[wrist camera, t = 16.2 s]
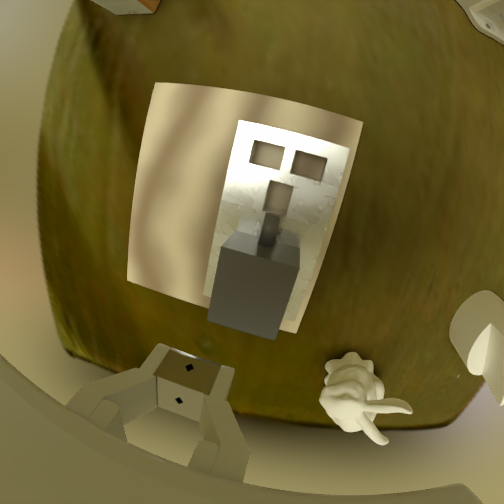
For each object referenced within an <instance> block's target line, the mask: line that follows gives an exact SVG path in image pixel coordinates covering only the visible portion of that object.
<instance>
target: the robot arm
mask: <svg viewBox="0 0 504 504" xmlns="http://www.w3.org/2000/svg"><path fill="white" fill-rule="evenodd" d="M456 1H457V2H458V3H459V4H460V5H461V6H462V8H463V9H464V10H465V12H466V14H467V15H468V17H469V19H470V21H471V22H472V24H473V25H474V26H475V28H476V29H477V30H479V31H480V32H482V33H483V34H485V35H487V36H489V37H491V38H493V39H494V40H496V41H498V42H500V43H501V44H503V45H504V0H456ZM234 372H235V368H231V367H228V366H225V365H221V364H218V363H215V362H211V361H208V360H205V359H202V358H199V357H195V356H193V355H190V354H187V353H185V352H182V351H179V350H177V349H174V348H171V347H169V346H166V345H164V344H161V343H159V344H158V345H156V347H155V348H154V350H153V351H152V352H151V354H150V355H149V356H148V358H147V359H146V360H145V362H144V363H143V364H142V366H141V367H140V369H138V368H133V369H130V370H127V371H125V372H122V373H119V374H116V375H112V376H109V377H106V378H103V379H100V380H97V381H94V382H90V383H87V384H84V385H83V386H82V387H81V388H80V389H79V391H78V392H77V393H76V394H75V395H74V396H73V398H72V399H71V400H70V401H69V402H68V403H67V405H66V406H64V405H62V404H61V403H59V402H58V401H56V400H55V399H54V398H52V397H51V396H50V395H48V394H47V393H45V392H44V391H43V390H42V389H40V388H39V387H38V386H36V385H35V384H34V383H33V382H31V381H30V380H29V379H27V378H26V377H25V376H24V375H23V374H21V372H19V371H18V370H17V369H16V368H15V367H14V366H12V365H11V364H10V363H9V362H8V361H7V360H6V359H5V358H4V357H3V356H1V354H0V504H482V502H481V500H480V499H479V498H478V497H477V496H476V495H475V494H474V493H473V492H472V491H471V490H470V489H469V488H468V487H466V486H465V485H464V484H460V483H457V484H451V485H447V486H442V487H437V488H432V489H426V490H419V491H412V492H404V493H394V494H380V495H325V494H310V493H300V492H292V491H285V490H278V489H271V488H266V487H260V486H255V485H250V484H245V483H243V479H244V475H245V471H246V466H247V463H248V459H249V454H250V451H249V449H248V446H247V444H246V442H245V440H244V437H243V435H242V433H241V431H240V428H239V426H238V424H237V421H236V419H235V417H234V414H233V412H232V409H231V407H230V405H229V402H227V401H226V400H227V397H228V393H229V390H230V386H231V383H232V379H233V376H234ZM157 406H158V407H161V408H163V409H166V410H168V411H172V412H174V413H177V414H180V415H182V416H185V417H187V418H190V419H192V420H195V421H198V422H199V424H200V428H201V431H202V435H203V439H204V440H201V441H198V443H197V446H196V448H195V450H194V453H193V455H192V458H191V460H190V462H189V465H188V467H186V466H183V465H180V464H177V463H175V462H172V461H169V460H167V459H164V458H161V457H159V456H157V455H154V454H152V453H150V452H147V451H145V450H143V449H140V448H138V447H136V446H134V445H132V444H130V443H128V442H127V438H126V434H125V431H124V427H123V425H125V424H126V423H129V422H131V421H133V420H135V419H136V418H138V417H140V416H142V415H144V414H146V413H148V412H150V411H151V410H153V409H155V408H157Z"/></svg>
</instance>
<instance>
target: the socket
mask: <svg viewBox="0 0 504 504" xmlns="http://www.w3.org/2000/svg"><path fill="white" fill-rule="evenodd" d="M258 141H260V142H264V143H269V144H273V145H277V146H281V147H285V152H284V156H283V160H282V164H281V168H280V169H277V168H273V167H269V166H265V165H261V164H257V163H253V161H254V157H255V152H256V148H257V144H258ZM349 150H350V149H349V148H346V147H343V146H340V145H337V144H333V143H330V142H327V141H323V140H320V139H317V138H313V137H309V136H306V135H302V134H298V133H295V132H291V131H287V130H283V129H278V128H274V127H270V126H265V125H261V124H256V123H251V122H246V121H241V120H239V124H238V128H237V132H236V136H235V140H234V145H233V149H232V153H231V157H230V162H229V166H228V171H227V175H226V180H225V184H224V189H223V193H222V198H221V203H220V208H219V212H218V217H217V222H216V227H215V232H214V237H213V242H212V247H211V253H210V258H209V263H208V269H207V274H206V280H205V285H204V291H203V295H205V296H208V297H211V295H212V289H213V284H214V279H215V274H216V269H217V264H218V259H219V254H220V249H221V246H222V245H223V244H224V242H225V241H226V240H227V239H228V238H229V237H230V236H231V234H232V233H233V232H234V231H235V230H237V231H240V232H244V233H248V234H251V235H255V236H260V233H261V229H262V225H263V221H264V217H265V213H273V214H276V215H279V216H280V217H281V218H280V222H279V226H278V229H277V233H276V237H275V240H274V241H277V242H280V243H284V244H287V245H291V246H294V247H298V248H300V269H299V272H298V275H297V278H296V281H295V284H294V287H293V290H292V293H291V296H290V299H289V302H288V305H287V308H286V311H285V314H284V317H283V318H284V319H287V320H291V321H295V320H296V317H297V314H298V312H299V309H300V306H301V304H302V301H303V298H304V295H305V293H306V290H307V287H308V284H309V281H310V278H311V276H312V273H313V270H314V267H315V264H316V261H317V258H318V255H319V252H320V249H321V246H322V243H323V240H324V237H325V233H326V230H327V227H328V224H329V221H330V217H331V214H332V211H333V208H334V204H335V201H336V197H337V194H338V191H339V187H340V184H341V180H342V176H343V173H344V169H345V165H346V162H347V158H348V154H349ZM296 151H300V152H304V153H307V154H311V155H314V156H318V157H321V158H325V160H324V164H323V168H322V171H321V175H320V179H319V180H317V179H313V178H310V177H306V176H303V175H299V174H296V173H292V172H291V168H292V164H293V161H294V157H295V153H296ZM272 180H273V181H277V182H280V183H284V184H288V185H291V186H294V188H293V191H292V195H291V199H290V203H289V206H288V210H287V211H284V210H280V209H276V208H273V207H269V206H266V202H267V198H268V194H269V190H270V186H271V182H272Z"/></svg>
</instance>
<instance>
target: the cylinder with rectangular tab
mask: <svg viewBox="0 0 504 504" xmlns="http://www.w3.org/2000/svg"><path fill="white" fill-rule="evenodd" d="M449 337H450V340H451V343H452V344H453V346H454V347H455V349H456V351H457V352H458V354H459V355H460V357H461V359H462V360H463V362H464V364H465V365H466V367H467V369H468V370H469V372H470V373H472V374H474V375H482V376H483V377H484V379H485V381H486V382H487V384H488V386H489V387H490V389H491V391H492V393H493V394H494V396H495V398H496V400H497V402H498V403H499V405H500V406H502V405H504V302H503V301H502V300H501V299H500V298H499V297H498V296H497V295H496V294H495V293H493V292H491V291H489V290H483V291H479V292H477V293H475V294H473V295H472V296H470V297H469V298H468V299H467V300H466V301H464V302H463V304H462V305H461V306H460V307H459V309H458V310H457V312H456V313H455V315H454V317H453V319H452V322H451V324H450V330H449Z"/></svg>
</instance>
